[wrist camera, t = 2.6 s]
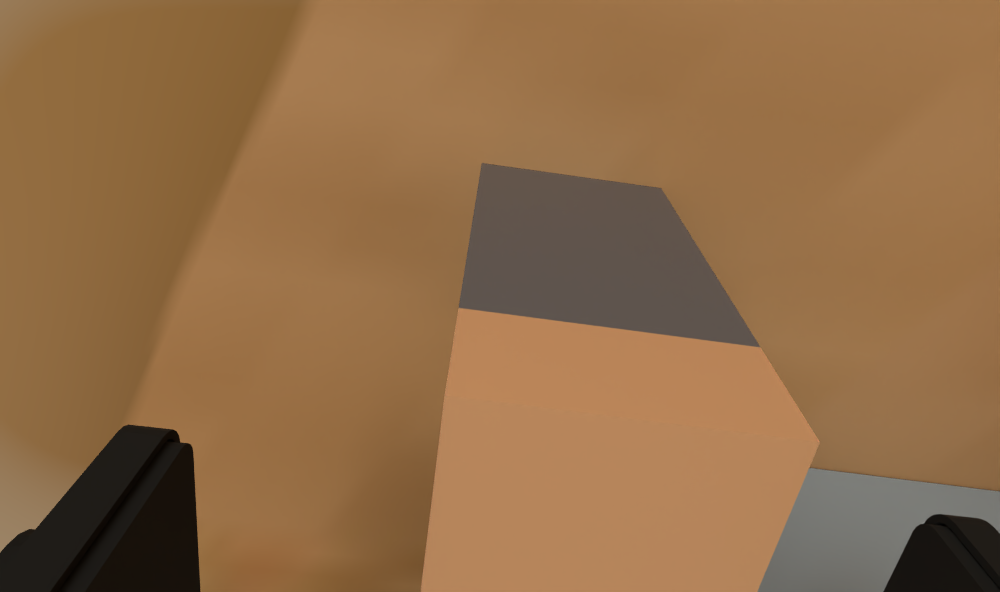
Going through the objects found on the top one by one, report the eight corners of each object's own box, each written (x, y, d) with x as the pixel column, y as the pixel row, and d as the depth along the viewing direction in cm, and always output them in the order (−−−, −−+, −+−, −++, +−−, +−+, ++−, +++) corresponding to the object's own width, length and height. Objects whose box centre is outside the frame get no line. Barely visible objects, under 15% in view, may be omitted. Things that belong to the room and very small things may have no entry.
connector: (481, 163, 15) (444, 395, 7) (661, 188, 16) (820, 442, 7) (461, 322, 17) (412, 653, 9) (622, 343, 17) (717, 685, 9)
